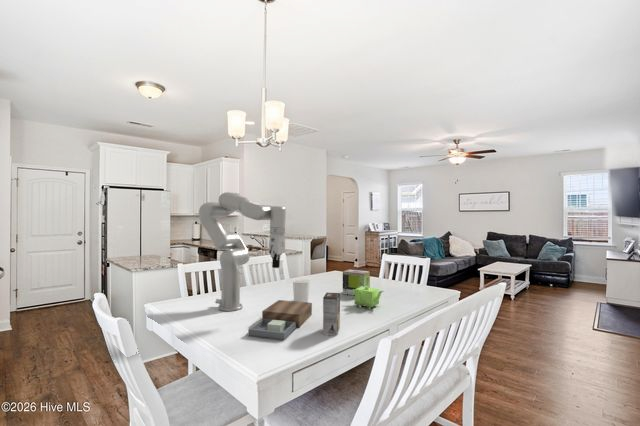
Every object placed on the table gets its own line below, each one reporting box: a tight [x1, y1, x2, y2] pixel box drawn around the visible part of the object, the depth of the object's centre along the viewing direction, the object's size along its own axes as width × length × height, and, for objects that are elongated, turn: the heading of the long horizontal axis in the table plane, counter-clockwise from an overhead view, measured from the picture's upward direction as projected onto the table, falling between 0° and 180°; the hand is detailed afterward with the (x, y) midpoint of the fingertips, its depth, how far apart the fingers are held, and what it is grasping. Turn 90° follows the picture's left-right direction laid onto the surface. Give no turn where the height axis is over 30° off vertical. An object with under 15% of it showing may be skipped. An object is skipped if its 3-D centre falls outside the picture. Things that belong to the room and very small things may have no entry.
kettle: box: [351, 286, 385, 309], centre depth 183 cm, size 15×14×11 cm
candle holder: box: [292, 278, 311, 303], centre depth 192 cm, size 10×10×12 cm
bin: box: [247, 318, 297, 341], centre depth 142 cm, size 16×14×3 cm
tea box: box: [342, 269, 371, 296], centre depth 210 cm, size 15×10×15 cm, turn 58°
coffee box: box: [322, 292, 341, 336], centre depth 144 cm, size 9×6×16 cm
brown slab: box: [261, 299, 313, 329], centre depth 160 cm, size 18×20×6 cm
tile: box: [267, 320, 286, 332], centre depth 144 cm, size 6×6×3 cm
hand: (275, 267), depth 164 cm, fingers closed
